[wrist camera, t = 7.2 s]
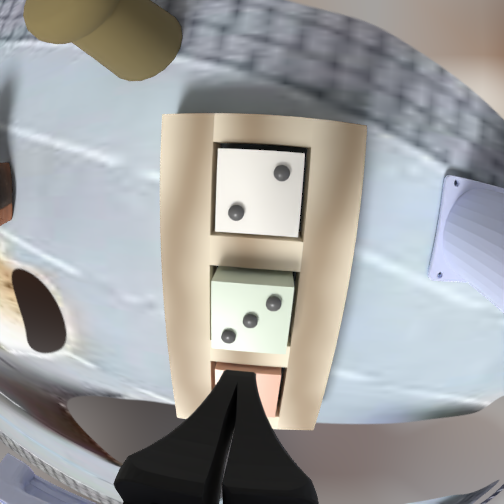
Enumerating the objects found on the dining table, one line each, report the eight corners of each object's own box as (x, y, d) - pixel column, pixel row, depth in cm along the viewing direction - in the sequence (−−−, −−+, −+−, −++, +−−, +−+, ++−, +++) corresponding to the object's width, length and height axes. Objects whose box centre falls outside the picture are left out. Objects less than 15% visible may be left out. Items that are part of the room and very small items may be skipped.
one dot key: (281, 351, 24) (281, 377, 21) (275, 393, 25) (274, 419, 22) (221, 346, 24) (214, 370, 21) (221, 388, 26) (215, 413, 23)
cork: (166, 86, 18) (73, 39, 8) (97, 77, 18) (-9, 48, 8) (193, 12, 16) (133, -74, 6) (123, 9, 16) (39, -51, 6)
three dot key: (292, 268, 21) (294, 288, 17) (284, 330, 22) (285, 356, 19) (219, 263, 21) (210, 282, 18) (219, 324, 22) (211, 349, 19)
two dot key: (300, 153, 19) (305, 153, 16) (294, 225, 21) (298, 238, 18) (226, 149, 19) (217, 148, 16) (223, 220, 21) (214, 232, 18)
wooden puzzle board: (356, 128, 18) (367, 125, 16) (311, 410, 26) (313, 430, 23) (175, 118, 19) (162, 114, 17) (183, 399, 26) (177, 417, 24)
